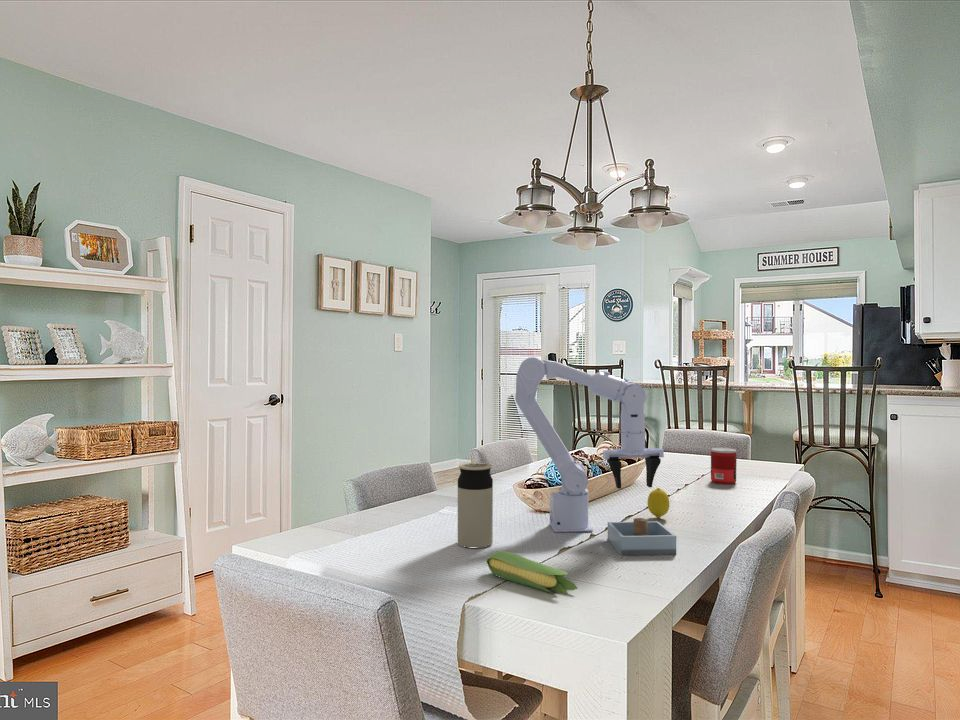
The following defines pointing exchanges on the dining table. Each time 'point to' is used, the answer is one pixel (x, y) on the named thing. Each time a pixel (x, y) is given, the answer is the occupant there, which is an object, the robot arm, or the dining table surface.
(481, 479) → the travel mug
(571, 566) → the dining table surface
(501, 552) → the edible corn
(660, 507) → the lemon
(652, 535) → the tray
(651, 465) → the robot arm
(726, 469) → the canned food
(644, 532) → the peg
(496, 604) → the dining table surface
